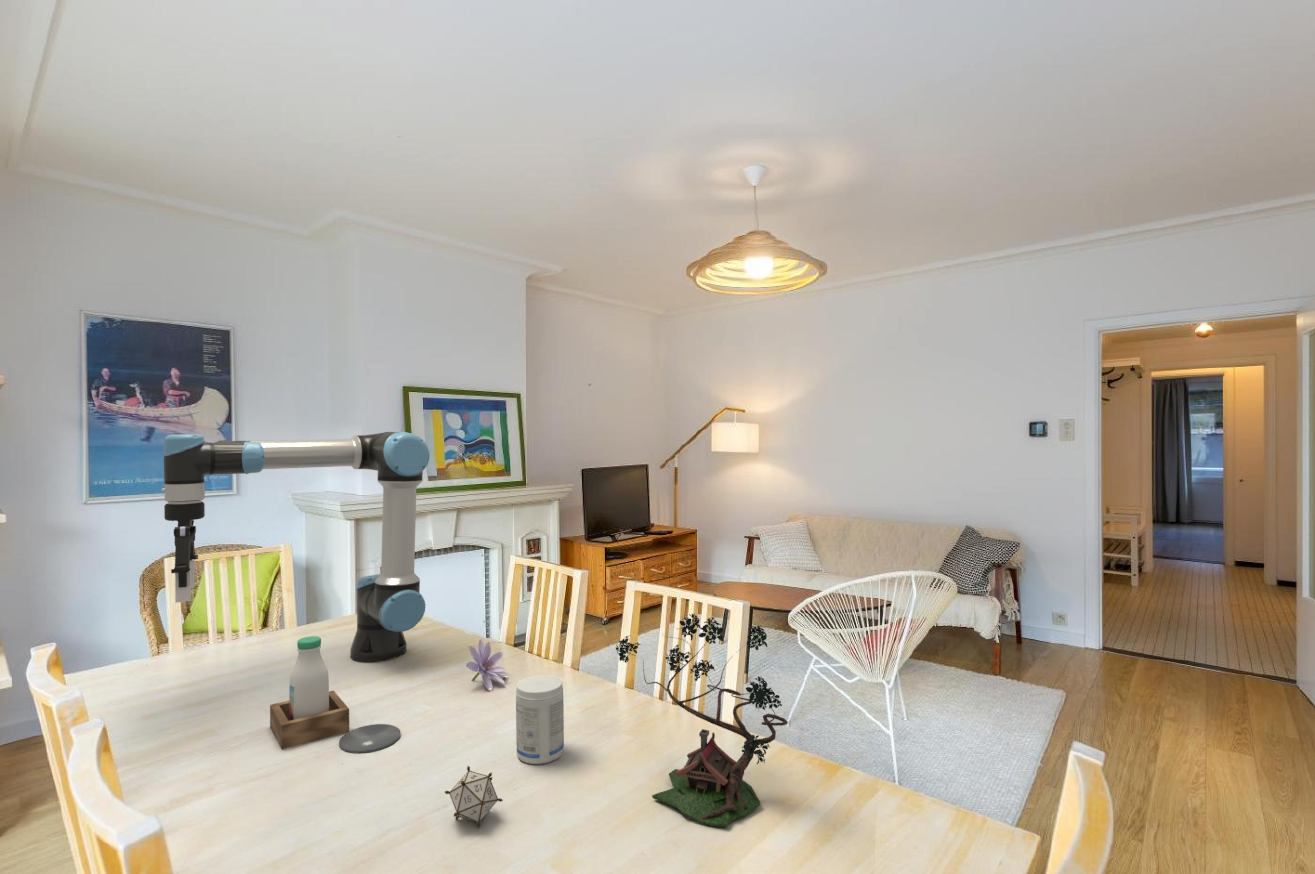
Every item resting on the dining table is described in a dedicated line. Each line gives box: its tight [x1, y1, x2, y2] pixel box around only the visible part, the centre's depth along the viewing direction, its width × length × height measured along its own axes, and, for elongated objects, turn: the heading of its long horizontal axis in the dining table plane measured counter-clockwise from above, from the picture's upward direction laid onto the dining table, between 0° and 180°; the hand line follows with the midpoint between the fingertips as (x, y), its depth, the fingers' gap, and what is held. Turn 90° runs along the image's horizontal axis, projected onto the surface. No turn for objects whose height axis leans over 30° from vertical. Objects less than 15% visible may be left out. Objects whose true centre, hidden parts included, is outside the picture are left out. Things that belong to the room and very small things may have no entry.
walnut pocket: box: [269, 690, 350, 750], centre depth 148 cm, size 13×13×5 cm
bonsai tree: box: [615, 613, 789, 828], centre depth 126 cm, size 35×24×32 cm
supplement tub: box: [515, 674, 565, 765], centre depth 137 cm, size 10×10×15 cm
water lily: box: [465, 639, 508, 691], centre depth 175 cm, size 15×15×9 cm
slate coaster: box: [338, 723, 401, 754], centre depth 143 cm, size 12×12×1 cm
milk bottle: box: [288, 635, 330, 721], centre depth 147 cm, size 8×8×20 cm
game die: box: [444, 765, 504, 829], centre depth 114 cm, size 9×8×10 cm
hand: (185, 594), depth 154 cm, fingers open, 13 cm apart
